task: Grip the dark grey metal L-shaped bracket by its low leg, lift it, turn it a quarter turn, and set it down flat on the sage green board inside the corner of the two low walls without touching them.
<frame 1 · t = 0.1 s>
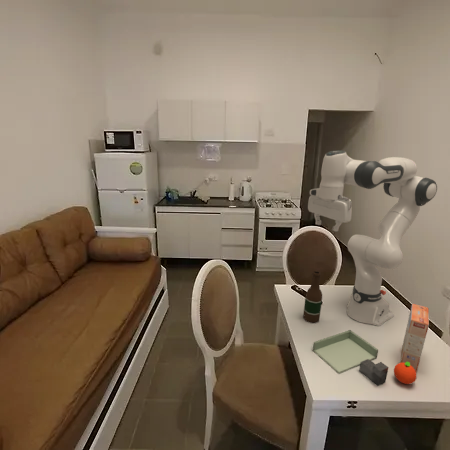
hand: (326, 227, 125), 48 cm above the table, tool pointing down, fingers open, 8 cm apart
cracker box: (409, 360, 122), on the table
bracket: (371, 376, 113), on the table
clementine: (403, 380, 111), on the table
arena: (344, 354, 124), on the table
beer bottle: (311, 319, 147), on the table
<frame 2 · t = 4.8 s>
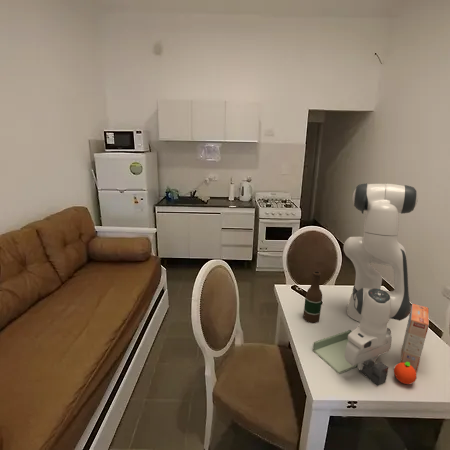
hand: (365, 366, 115), 2 cm above the table, tool pointing down, fingers closed on bracket, 4 cm apart
bracket: (371, 376, 113), on the table, touching gripper
everything else where it was.
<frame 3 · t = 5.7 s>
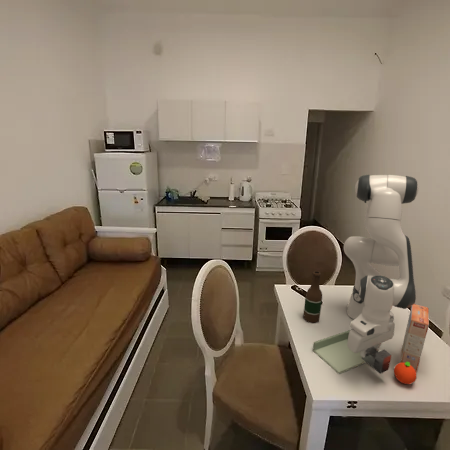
hand: (368, 353, 114), 7 cm above the table, tool pointing down, fingers closed on bracket, 4 cm apart
bracket: (374, 364, 112), point 5 cm above the table, touching gripper
everything else where it was.
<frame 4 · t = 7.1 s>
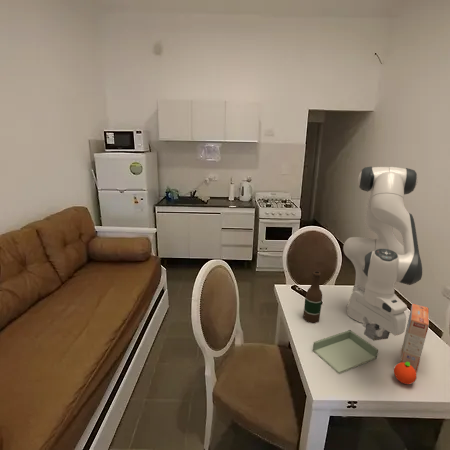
hand: (371, 331, 110), 17 cm above the table, tool pointing down, fingers closed on bracket, 4 cm apart
bracket: (375, 336, 112), point 14 cm above the table, tilted 11°, touching gripper
everything else where it was.
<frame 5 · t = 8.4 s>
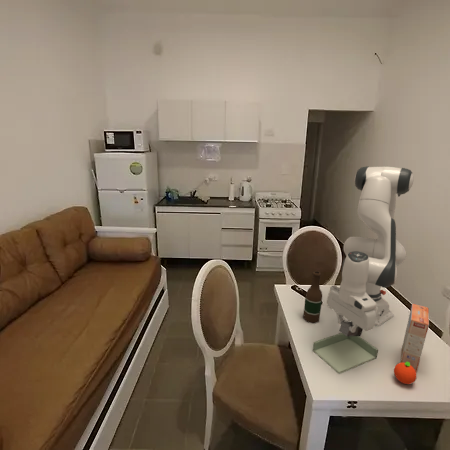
hand: (346, 327, 119), 13 cm above the table, tool pointing down, fingers closed on bracket, 4 cm apart
bracket: (349, 333, 121), point 10 cm above the table, tilted 16°, touching gripper
everything else where it was.
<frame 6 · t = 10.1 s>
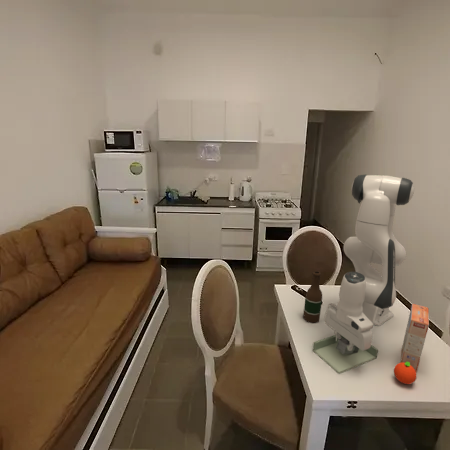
hand: (343, 345, 122), 5 cm above the table, tool pointing down, fingers closed on bracket, 4 cm apart
bracket: (346, 350, 124), point 2 cm above the table, tilted 12°, touching arena, gripper
everything else where it was.
when the fingers open (5 cm above the table, at t = 10.2 s): bracket stays where it is, resting on arena.
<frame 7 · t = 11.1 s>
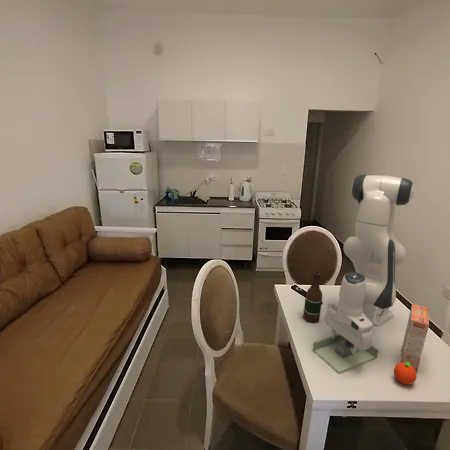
hand: (343, 345, 122), 4 cm above the table, tool pointing down, fingers open, 8 cm apart
bracket: (346, 352, 124), point 1 cm above the table, touching arena
everything else where it was.
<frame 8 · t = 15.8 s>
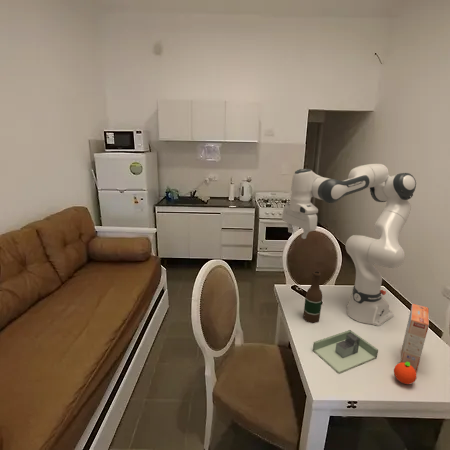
hand: (296, 235, 143), 39 cm above the table, tool pointing down, fingers open, 8 cm apart
nothing on the table moved.
at the end: bracket inside the target area (1.9 cm from its centre), point 0.8 cm above the table; bracket tilted 0°; the gripper is holding nothing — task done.
